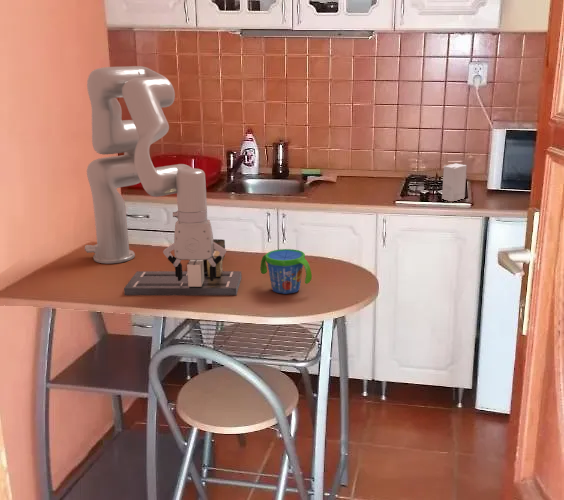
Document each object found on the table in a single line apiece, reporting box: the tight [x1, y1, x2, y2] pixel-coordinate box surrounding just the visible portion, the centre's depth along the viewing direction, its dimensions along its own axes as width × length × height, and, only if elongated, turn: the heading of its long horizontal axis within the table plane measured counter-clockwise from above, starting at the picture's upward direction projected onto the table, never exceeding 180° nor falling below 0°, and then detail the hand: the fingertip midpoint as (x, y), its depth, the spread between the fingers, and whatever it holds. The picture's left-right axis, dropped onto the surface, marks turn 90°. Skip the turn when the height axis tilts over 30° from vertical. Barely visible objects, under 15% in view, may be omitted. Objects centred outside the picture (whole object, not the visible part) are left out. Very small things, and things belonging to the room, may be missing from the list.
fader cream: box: [186, 260, 204, 287], centre depth 183 cm, size 4×5×6 cm
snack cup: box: [260, 248, 313, 295], centre depth 183 cm, size 16×10×10 cm
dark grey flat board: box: [123, 270, 242, 296], centre depth 188 cm, size 30×14×2 cm, turn 88°
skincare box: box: [441, 162, 468, 202], centre depth 283 cm, size 8×6×15 cm
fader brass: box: [207, 251, 223, 277], centre depth 191 cm, size 4×5×6 cm
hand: (196, 279), depth 184 cm, fingers open, 8 cm apart
